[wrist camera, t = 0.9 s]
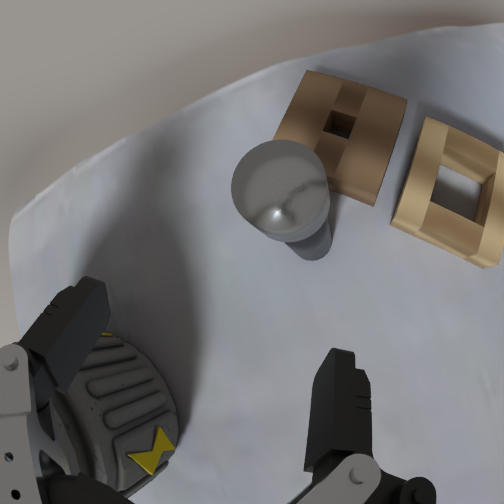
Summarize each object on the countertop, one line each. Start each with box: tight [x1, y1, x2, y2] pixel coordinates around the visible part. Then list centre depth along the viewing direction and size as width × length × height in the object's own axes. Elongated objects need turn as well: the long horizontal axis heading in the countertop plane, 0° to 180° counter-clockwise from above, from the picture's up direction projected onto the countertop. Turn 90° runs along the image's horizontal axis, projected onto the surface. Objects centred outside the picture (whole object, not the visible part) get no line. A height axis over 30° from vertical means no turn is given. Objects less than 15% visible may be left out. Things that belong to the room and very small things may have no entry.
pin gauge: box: [231, 140, 332, 261], centre depth 21 cm, size 4×4×15 cm
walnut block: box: [273, 70, 407, 206], centre depth 27 cm, size 10×10×4 cm
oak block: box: [390, 116, 504, 268], centre depth 24 cm, size 10×10×4 cm
